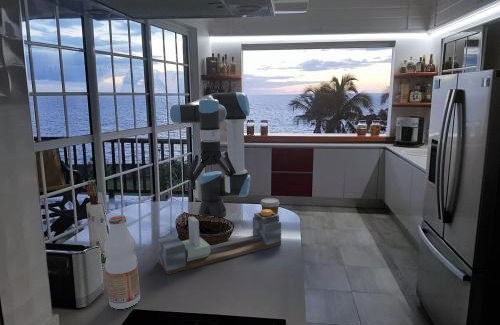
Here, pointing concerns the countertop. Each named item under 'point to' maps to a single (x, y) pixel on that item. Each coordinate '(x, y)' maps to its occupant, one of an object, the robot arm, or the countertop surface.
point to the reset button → (266, 213)
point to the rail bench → (223, 255)
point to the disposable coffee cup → (270, 204)
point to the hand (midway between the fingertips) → (212, 194)
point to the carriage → (195, 242)
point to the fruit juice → (121, 265)
